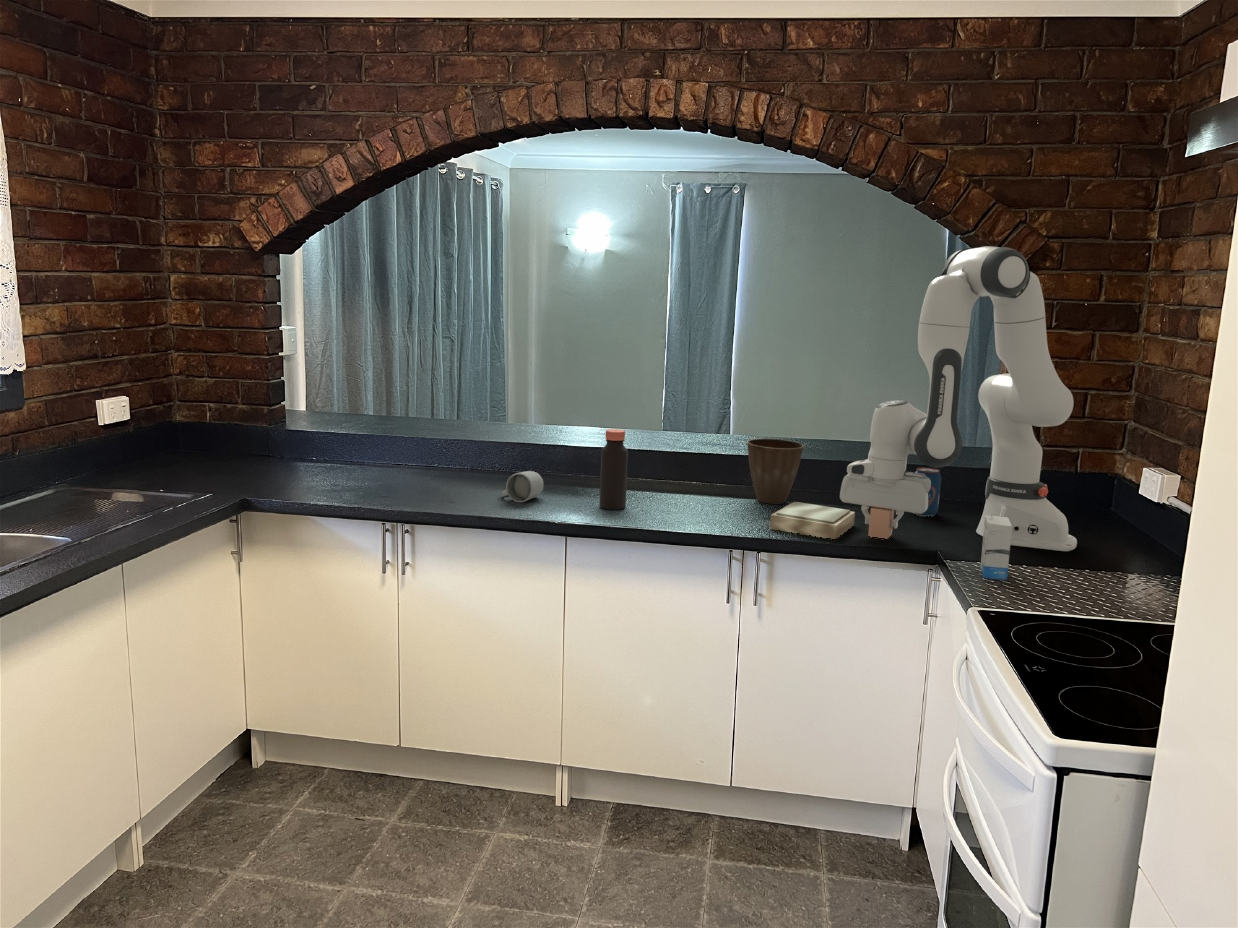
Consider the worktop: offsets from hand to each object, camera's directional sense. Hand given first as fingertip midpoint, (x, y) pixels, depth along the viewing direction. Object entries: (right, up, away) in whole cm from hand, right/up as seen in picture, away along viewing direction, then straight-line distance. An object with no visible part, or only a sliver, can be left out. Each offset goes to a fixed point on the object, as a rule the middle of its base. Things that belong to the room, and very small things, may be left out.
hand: (880, 525), depth 227 cm
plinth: (-15, -1, +6) cm, 16 cm away
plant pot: (-21, +4, +32) cm, 39 cm away
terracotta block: (0, -3, +1) cm, 3 cm away
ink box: (+17, -9, -25) cm, 32 cm away
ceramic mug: (-88, +5, +23) cm, 91 cm away
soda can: (+18, +1, +25) cm, 30 cm away
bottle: (-64, +3, +18) cm, 67 cm away
